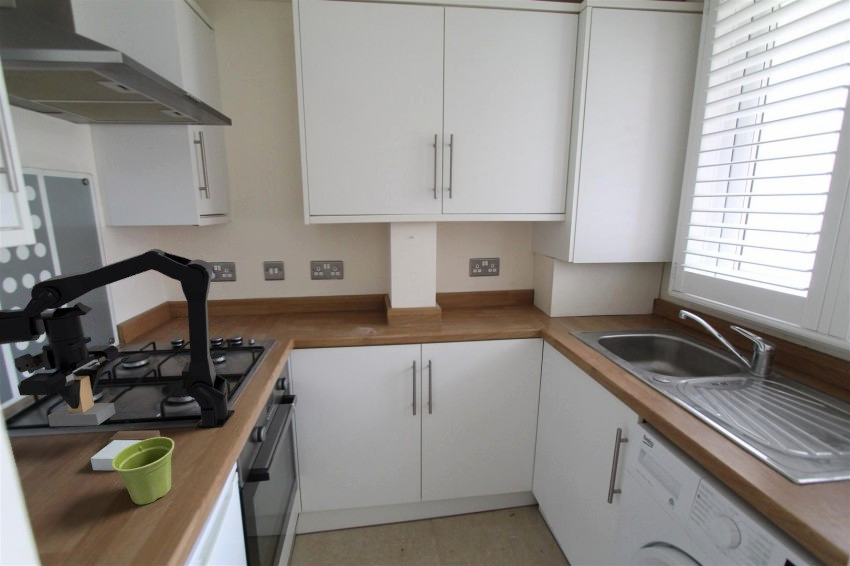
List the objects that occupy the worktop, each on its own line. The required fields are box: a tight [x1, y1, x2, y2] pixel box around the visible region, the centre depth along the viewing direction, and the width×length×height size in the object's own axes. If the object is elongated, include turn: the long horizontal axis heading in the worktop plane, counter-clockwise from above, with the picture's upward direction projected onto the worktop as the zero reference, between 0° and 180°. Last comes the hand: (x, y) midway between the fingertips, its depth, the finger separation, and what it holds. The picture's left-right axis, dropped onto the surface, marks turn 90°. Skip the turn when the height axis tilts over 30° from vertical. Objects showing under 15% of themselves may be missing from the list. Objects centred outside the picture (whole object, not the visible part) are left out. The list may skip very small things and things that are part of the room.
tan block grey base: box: [47, 375, 116, 427], centre depth 85 cm, size 5×10×10 cm, turn 92°
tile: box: [90, 440, 141, 471], centre depth 82 cm, size 6×6×3 cm
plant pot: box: [112, 436, 175, 505], centre depth 72 cm, size 9×9×9 cm
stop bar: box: [108, 430, 161, 444], centre depth 87 cm, size 3×9×2 cm, turn 91°
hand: (81, 404), depth 85 cm, fingers closed on tan block grey base, 3 cm apart
